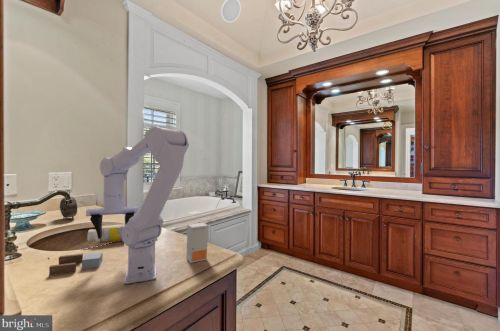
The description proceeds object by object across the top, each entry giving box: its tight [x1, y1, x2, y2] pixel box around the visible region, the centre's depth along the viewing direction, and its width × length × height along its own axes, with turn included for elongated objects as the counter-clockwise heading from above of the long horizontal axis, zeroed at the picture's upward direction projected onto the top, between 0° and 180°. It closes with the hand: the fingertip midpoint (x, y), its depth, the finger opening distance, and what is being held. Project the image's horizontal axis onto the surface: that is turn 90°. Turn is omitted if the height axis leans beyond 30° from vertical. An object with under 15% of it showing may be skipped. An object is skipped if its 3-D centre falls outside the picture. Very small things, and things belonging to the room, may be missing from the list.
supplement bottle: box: [87, 223, 125, 244], centre depth 92 cm, size 7×7×13 cm
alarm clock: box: [59, 189, 78, 221], centre depth 124 cm, size 11×5×16 cm, turn 58°
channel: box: [48, 253, 84, 277], centre depth 69 cm, size 8×6×2 cm
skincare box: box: [186, 222, 209, 264], centre depth 78 cm, size 6×4×12 cm
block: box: [81, 252, 104, 270], centre depth 72 cm, size 4×4×3 cm
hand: (113, 236), depth 74 cm, fingers open, 7 cm apart
